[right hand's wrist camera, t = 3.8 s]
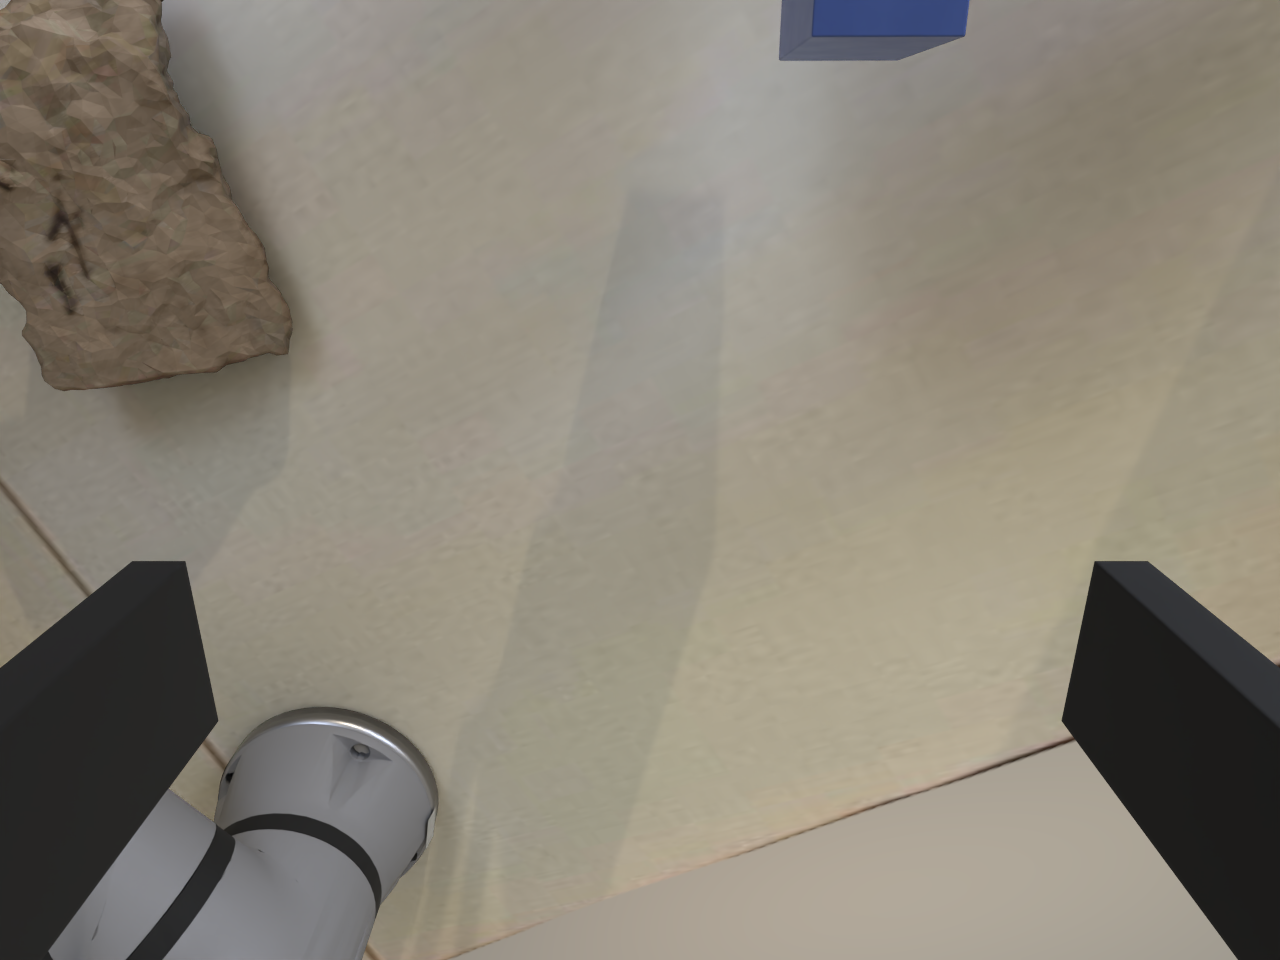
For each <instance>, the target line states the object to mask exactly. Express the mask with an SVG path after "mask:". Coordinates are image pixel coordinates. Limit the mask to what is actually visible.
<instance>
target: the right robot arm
mask: <svg viewBox="0 0 1280 960" xmlns="http://www.w3.org/2000/svg"><path fill="white" fill-rule="evenodd" d="M217 722H218V717H217V712H216V707H215V702H214V697H213V693H212V688H211V683H210V678H209V673H208V668H207V664H206V659H205V654H204V649H203V644H202V639H201V635H200V630H199V625H198V620H197V615H196V610H195V606H194V601H193V596H192V591H191V586H190V581H189V577H188V572H187V567H186V562H185V561H132V562H131V563H130V564H128V565H127V566H126V567H125V568H123V569H122V570H121V571H120V572H118V573H117V574H116V575H115V576H114V577H112V578H111V579H110V580H109V581H107V582H106V583H105V584H104V585H102V586H101V587H100V588H99V589H97V590H96V591H95V592H94V593H93V594H91V595H90V596H89V597H88V598H86V599H85V600H84V601H83V602H81V603H80V604H79V605H78V606H76V607H75V608H74V609H73V610H72V611H70V612H69V613H68V614H67V615H65V616H64V617H63V618H62V619H60V620H59V621H58V622H57V623H55V624H54V625H53V626H52V627H51V628H49V629H48V630H47V631H46V632H44V633H43V634H42V635H41V636H39V637H38V638H37V639H36V640H34V641H33V642H32V643H31V644H30V645H28V646H27V647H26V648H25V649H23V650H22V651H21V652H20V653H18V654H17V655H16V656H15V657H13V658H12V659H11V660H10V661H9V662H7V663H6V664H5V665H4V666H2V667H1V668H0V960H362V957H363V954H364V951H365V948H366V945H367V942H368V939H369V936H370V933H371V930H372V927H373V924H374V921H375V918H376V915H377V913H378V910H379V907H380V904H381V903H382V902H383V901H384V900H385V899H386V897H387V896H388V895H389V894H390V892H391V891H392V890H393V888H394V887H395V885H396V884H397V882H398V880H399V878H400V877H402V876H403V875H404V874H405V873H406V872H407V871H408V870H409V869H410V868H411V867H412V866H413V865H414V864H415V863H416V861H417V860H418V859H419V858H420V856H421V855H422V854H423V852H424V850H425V848H427V847H428V845H429V843H430V841H431V839H432V837H433V834H434V823H435V819H436V815H437V810H438V792H437V786H436V782H435V779H434V776H433V773H432V771H431V769H430V767H429V765H428V763H427V762H426V760H425V759H424V757H423V756H422V754H421V753H420V752H419V751H418V749H417V748H416V747H415V746H414V745H413V744H412V743H411V742H410V741H409V740H408V739H407V738H405V737H404V736H403V735H402V734H400V733H399V732H398V731H396V730H395V729H393V728H392V727H390V726H388V725H387V724H385V723H383V722H381V721H379V720H377V719H375V718H372V717H370V716H367V715H364V714H361V713H358V712H354V711H350V710H346V709H339V708H329V707H312V708H303V709H298V710H293V711H289V712H286V713H283V714H280V715H278V716H275V717H273V718H271V719H269V720H267V721H265V722H264V723H262V724H261V725H259V726H258V727H257V728H256V729H254V730H253V731H252V732H251V733H250V734H249V735H248V736H247V737H246V738H245V739H244V741H243V742H242V743H241V745H240V746H239V748H238V749H237V751H236V752H235V754H234V755H233V757H232V758H231V760H230V761H229V763H228V765H227V766H226V768H225V770H224V773H223V775H222V778H221V782H220V788H219V795H218V803H217V807H216V812H215V817H214V822H213V821H211V820H210V819H209V818H207V817H206V816H205V815H203V814H202V813H201V812H199V811H198V810H197V809H195V808H194V807H193V806H191V805H190V804H189V803H187V802H186V801H185V800H183V799H182V798H180V797H179V796H178V795H176V794H175V793H174V792H172V791H171V790H170V789H168V788H169V787H170V786H171V784H172V783H173V782H174V780H175V779H176V778H177V776H178V775H179V774H180V772H181V771H182V770H183V768H184V767H185V765H186V764H187V763H188V761H189V760H190V759H191V757H192V756H193V755H194V753H195V752H196V751H197V749H198V748H199V747H200V745H201V744H202V742H203V741H204V740H205V738H206V737H207V736H208V734H209V733H210V732H211V730H212V729H213V728H214V726H215V725H216V723H217ZM1062 722H1063V723H1064V725H1065V726H1066V728H1067V729H1068V730H1069V732H1070V733H1071V734H1072V736H1073V737H1074V738H1075V740H1076V741H1077V742H1078V744H1079V745H1080V746H1081V748H1082V749H1083V751H1084V752H1085V753H1086V755H1087V756H1088V757H1089V759H1090V760H1091V761H1092V763H1093V764H1094V765H1095V767H1096V768H1097V770H1098V771H1099V772H1100V774H1101V775H1102V776H1103V778H1104V779H1105V780H1106V782H1107V783H1108V784H1109V786H1110V787H1111V788H1112V790H1113V791H1114V793H1115V794H1116V795H1117V796H1118V798H1119V799H1120V801H1121V802H1122V803H1123V805H1124V806H1125V807H1126V809H1127V810H1128V811H1129V813H1130V814H1131V816H1132V817H1133V818H1134V820H1135V821H1136V822H1137V824H1138V825H1139V826H1140V828H1141V829H1142V830H1143V832H1144V833H1145V834H1146V836H1147V837H1148V839H1149V840H1150V841H1151V843H1152V844H1153V845H1154V847H1155V848H1156V849H1157V851H1158V852H1159V853H1160V855H1161V856H1162V857H1163V859H1164V860H1165V862H1166V863H1167V864H1168V866H1169V867H1170V868H1171V870H1172V871H1173V872H1174V874H1175V875H1176V876H1177V878H1178V879H1179V880H1180V882H1181V883H1182V884H1183V886H1184V887H1185V889H1186V890H1187V891H1188V893H1189V894H1190V895H1191V897H1192V898H1193V899H1194V901H1195V902H1196V903H1197V905H1198V906H1199V908H1200V909H1201V910H1202V912H1203V913H1204V914H1205V916H1206V917H1207V918H1208V920H1209V921H1210V922H1211V924H1212V925H1213V926H1214V928H1215V929H1216V931H1217V932H1218V933H1219V935H1220V936H1221V937H1222V939H1223V940H1224V941H1225V943H1226V944H1227V945H1228V947H1229V948H1230V950H1231V951H1232V952H1233V954H1234V955H1235V956H1236V958H1237V959H1238V960H1280V668H1279V667H1278V666H1276V665H1275V664H1274V663H1273V662H1271V661H1270V660H1269V659H1268V658H1267V657H1265V656H1264V655H1263V654H1262V653H1260V652H1259V651H1258V650H1257V649H1255V648H1254V647H1253V646H1252V645H1250V644H1249V643H1248V642H1247V641H1246V640H1244V639H1243V638H1242V637H1241V636H1239V635H1238V634H1237V633H1236V632H1234V631H1233V630H1232V629H1231V628H1229V627H1228V626H1227V625H1226V624H1225V623H1223V622H1222V621H1221V620H1220V619H1218V618H1217V617H1216V616H1215V615H1213V614H1212V613H1211V612H1210V611H1208V610H1207V609H1206V608H1205V607H1204V606H1202V605H1201V604H1200V603H1199V602H1197V601H1196V600H1195V599H1194V598H1192V597H1191V596H1190V595H1189V594H1187V593H1186V592H1185V591H1184V590H1183V589H1181V588H1180V587H1179V586H1178V585H1176V584H1175V583H1174V582H1173V581H1171V580H1170V579H1169V578H1168V577H1166V576H1165V575H1164V574H1163V573H1162V572H1160V571H1159V570H1158V569H1157V568H1155V567H1154V566H1153V565H1152V564H1150V563H1149V562H1148V561H1095V562H1094V567H1093V572H1092V577H1091V581H1090V586H1089V591H1088V596H1087V601H1086V606H1085V610H1084V615H1083V620H1082V625H1081V630H1080V635H1079V639H1078V644H1077V649H1076V654H1075V659H1074V664H1073V668H1072V673H1071V678H1070V683H1069V688H1068V693H1067V697H1066V702H1065V707H1064V712H1063V717H1062Z"/></svg>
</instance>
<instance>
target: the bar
mask: <svg viewBox="0 0 1280 960" xmlns="http://www.w3.org/2000/svg"><path fill="white" fill-rule="evenodd" d="M968 8H969V0H782V10H781V29H780V48H779V60H780V61H822V60H900V59H903V58H906V57H908V56H911V55H914V54H917V53H919V52H922V51H925V50H928V49H931V48H933V47H936V46H939V45H942V44H945V43H947V42H950V41H953V40H956V39H958V38H961V37H964V36H965V33H966V24H967V16H968Z"/></svg>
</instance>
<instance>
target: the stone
mask: <svg viewBox="0 0 1280 960" xmlns="http://www.w3.org/2000/svg"><path fill="white" fill-rule="evenodd" d="M162 1H163V0H11V1H10V2H9V3H8V5H7V6H6V7H5V8H3V9H1V10H0V283H1V284H2V285H3V286H4V288H5V289H6V291H7V292H8V293H9V294H10V295H11V296H13V297H14V298H15V299H16V300H18V301H19V302H20V303H21V304H22V306H23V307H24V308H25V310H26V318H27V323H26V325H25V327H24V329H23V330H22V336H23V337H24V338H25V340H26V341H27V342H28V343H29V344H30V345H31V347H32V348H33V350H34V351H35V353H36V356H37V358H38V361H39V363H40V365H41V370H42V376H43V379H44V381H45V382H47V383H48V384H49V385H51V386H52V387H53V388H55V389H58V390H62V391H67V390H86V389H98V388H107V387H116V386H122V385H129V384H137V383H143V382H148V381H152V380H157V379H161V378H170V377H173V376H176V375H178V374H192V373H210V372H218V371H219V370H220V369H222V368H223V367H224V366H226V365H228V364H233V363H237V362H242V361H245V360H246V359H247V358H252V357H256V356H259V355H263V354H266V353H272V354H275V355H284V354H288V350H289V340H290V337H291V334H292V319H291V316H290V310H289V308H288V305H287V303H286V302H285V300H284V299H283V297H282V295H281V292H280V291H279V290H278V288H277V287H276V286H275V285H274V284H273V282H272V281H271V280H270V279H269V277H268V272H269V267H268V264H267V261H266V255H265V248H264V246H263V245H262V243H261V241H260V240H259V238H258V237H257V235H256V234H255V233H254V232H253V231H252V230H251V229H250V228H249V226H248V224H247V223H246V222H245V220H244V218H243V216H242V214H241V213H240V211H239V209H238V208H237V206H236V204H235V203H234V202H233V201H232V198H231V190H230V187H229V185H228V184H227V182H226V181H225V179H224V178H223V176H222V171H221V168H220V164H219V161H218V156H217V150H216V147H215V145H214V142H213V140H212V139H211V138H210V137H209V136H207V135H203V134H200V133H197V132H196V131H195V130H194V129H193V128H192V127H191V126H190V119H189V115H188V114H187V112H186V111H185V109H184V108H183V107H182V105H180V102H179V99H178V95H177V93H176V92H175V91H174V90H173V81H172V79H171V77H170V75H169V74H168V73H167V67H168V62H169V60H170V58H171V54H170V48H169V42H168V38H167V36H166V33H165V31H164V29H163V27H162V24H161V16H162V3H161V2H162Z"/></svg>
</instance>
